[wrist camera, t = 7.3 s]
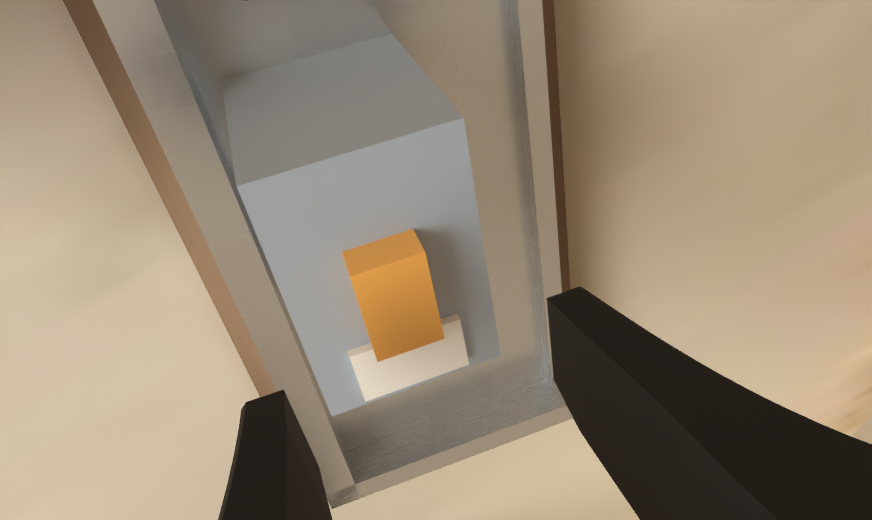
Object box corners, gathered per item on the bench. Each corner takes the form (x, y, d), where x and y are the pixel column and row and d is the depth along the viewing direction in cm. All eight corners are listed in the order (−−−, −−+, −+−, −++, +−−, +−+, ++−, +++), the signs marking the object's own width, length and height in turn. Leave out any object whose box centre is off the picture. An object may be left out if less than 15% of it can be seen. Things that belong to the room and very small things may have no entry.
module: (391, 33, 16) (479, 136, 11) (435, 239, 19) (514, 380, 15) (221, 81, 15) (239, 211, 11) (299, 283, 19) (338, 444, 14)
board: (498, -626, 12) (516, -649, 11) (567, 380, 28) (576, 394, 27) (-188, -533, 10) (-212, -552, 9) (305, 476, 26) (308, 493, 25)
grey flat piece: (474, -464, 12) (528, -508, 10) (549, 369, 26) (579, 415, 24) (-51, -373, 11) (-99, -405, 9) (319, 452, 24) (331, 508, 22)
